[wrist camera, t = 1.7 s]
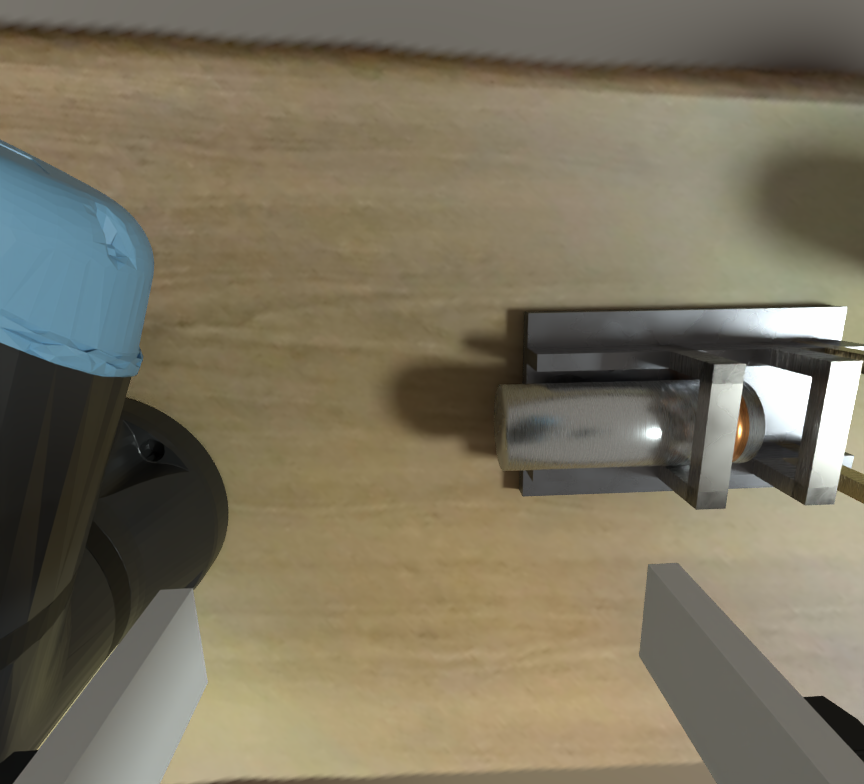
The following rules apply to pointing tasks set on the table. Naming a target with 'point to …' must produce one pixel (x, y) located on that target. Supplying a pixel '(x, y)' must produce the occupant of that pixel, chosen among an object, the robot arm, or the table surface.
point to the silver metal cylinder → (609, 424)
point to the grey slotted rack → (714, 395)
